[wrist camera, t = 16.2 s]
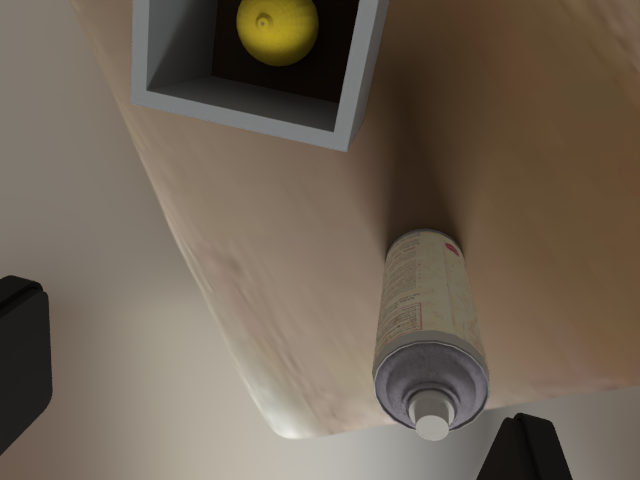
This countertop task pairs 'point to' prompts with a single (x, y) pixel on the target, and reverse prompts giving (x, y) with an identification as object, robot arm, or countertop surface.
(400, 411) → the aerosol can
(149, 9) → the tub
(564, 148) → the countertop surface
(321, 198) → the countertop surface
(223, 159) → the countertop surface
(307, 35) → the lemon
